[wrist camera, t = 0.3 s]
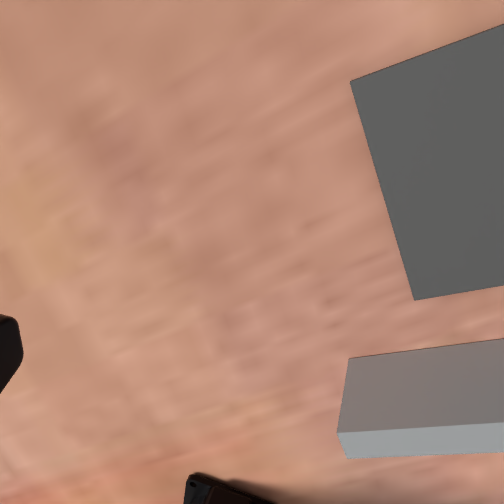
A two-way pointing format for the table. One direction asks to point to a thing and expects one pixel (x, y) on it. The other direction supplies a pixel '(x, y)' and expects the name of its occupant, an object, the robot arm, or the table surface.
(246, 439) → the table surface
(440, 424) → the wall
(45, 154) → the table surface
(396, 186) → the mat
